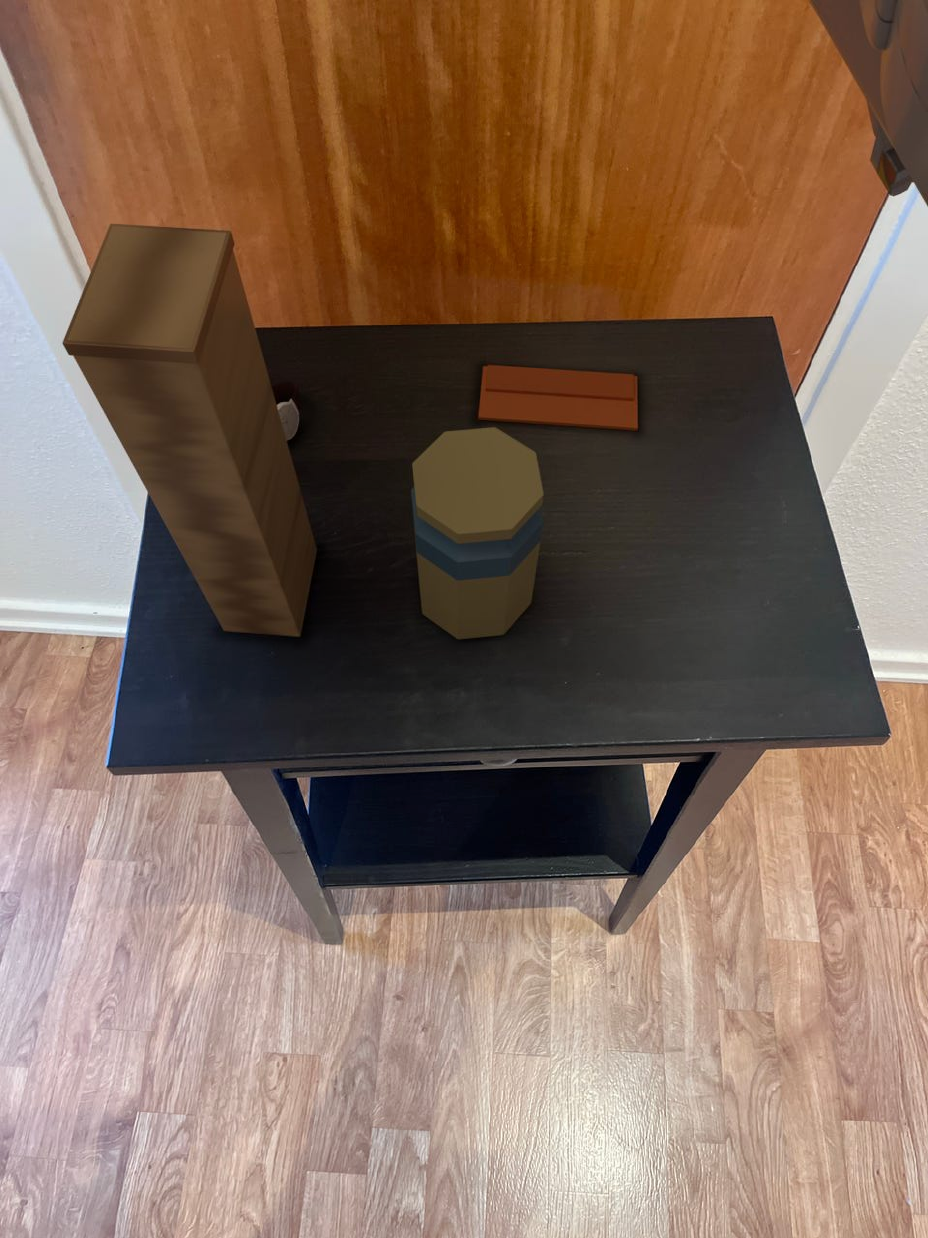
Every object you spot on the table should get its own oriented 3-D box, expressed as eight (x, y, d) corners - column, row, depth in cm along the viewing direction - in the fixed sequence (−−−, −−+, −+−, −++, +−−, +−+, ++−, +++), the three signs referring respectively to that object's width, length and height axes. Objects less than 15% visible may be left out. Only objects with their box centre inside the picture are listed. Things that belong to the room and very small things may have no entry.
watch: (270, 469, 73) (261, 442, 70) (224, 449, 74) (213, 422, 71) (317, 407, 77) (311, 378, 73) (272, 388, 78) (264, 359, 74)
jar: (435, 532, 70) (429, 409, 57) (544, 559, 69) (563, 439, 56) (400, 628, 66) (385, 519, 53) (515, 658, 65) (529, 555, 52)
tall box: (318, 548, 70) (231, 230, 43) (301, 638, 66) (194, 351, 39) (243, 542, 70) (110, 222, 43) (222, 632, 66) (61, 342, 40)
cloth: (636, 379, 78) (638, 372, 78) (637, 430, 75) (638, 424, 75) (483, 368, 79) (483, 362, 78) (478, 419, 76) (478, 413, 75)
